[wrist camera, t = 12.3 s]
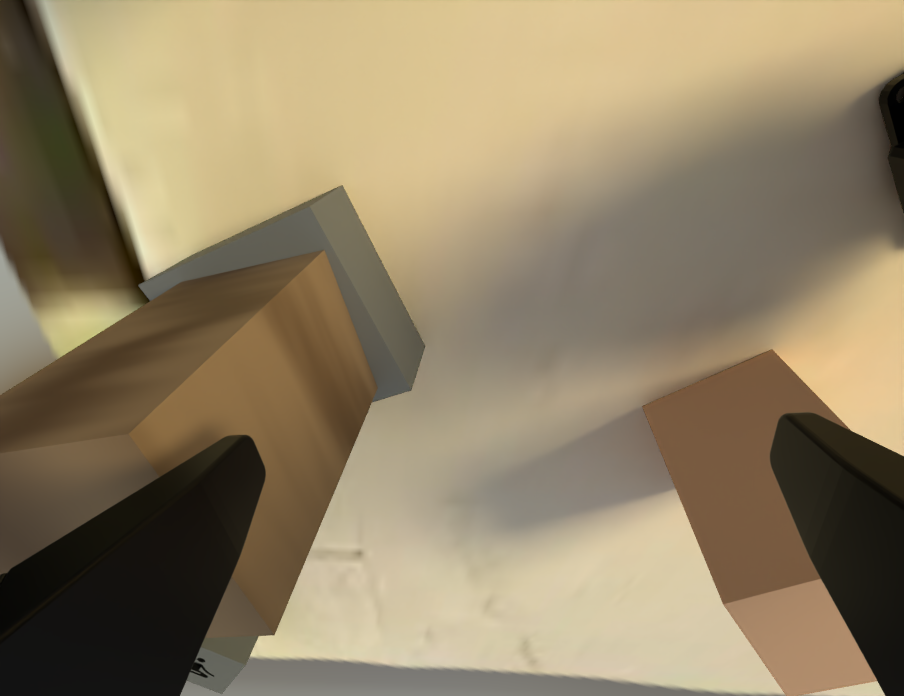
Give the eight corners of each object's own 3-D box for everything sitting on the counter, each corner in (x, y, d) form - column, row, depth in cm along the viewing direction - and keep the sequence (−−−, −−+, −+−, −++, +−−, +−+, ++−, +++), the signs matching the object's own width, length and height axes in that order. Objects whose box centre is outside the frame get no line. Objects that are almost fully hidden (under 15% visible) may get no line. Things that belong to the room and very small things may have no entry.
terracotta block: (772, 349, 21) (960, 542, 12) (813, 439, 23) (998, 658, 14) (641, 406, 23) (723, 604, 14) (691, 484, 25) (787, 697, 16)
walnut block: (324, 249, 17) (127, 433, 8) (377, 388, 19) (274, 635, 11) (180, 282, 18) (-122, 472, 9) (250, 407, 21) (66, 643, 12)
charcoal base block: (345, 183, 19) (309, 206, 16) (426, 343, 23) (411, 390, 19) (197, 252, 22) (138, 285, 18) (290, 388, 25) (255, 438, 22)
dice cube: (194, 594, 35) (150, 666, 31) (213, 561, 33) (169, 634, 29) (255, 620, 36) (221, 694, 32) (278, 590, 34) (245, 665, 30)
